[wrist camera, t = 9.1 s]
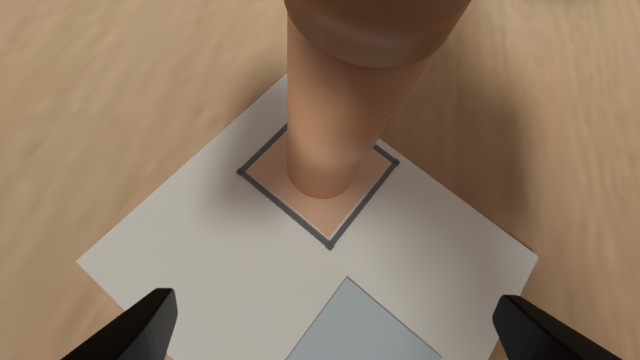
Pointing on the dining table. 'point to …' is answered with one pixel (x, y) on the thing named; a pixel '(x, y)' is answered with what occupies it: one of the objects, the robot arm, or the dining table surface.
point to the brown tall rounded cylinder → (352, 79)
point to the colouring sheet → (311, 256)
